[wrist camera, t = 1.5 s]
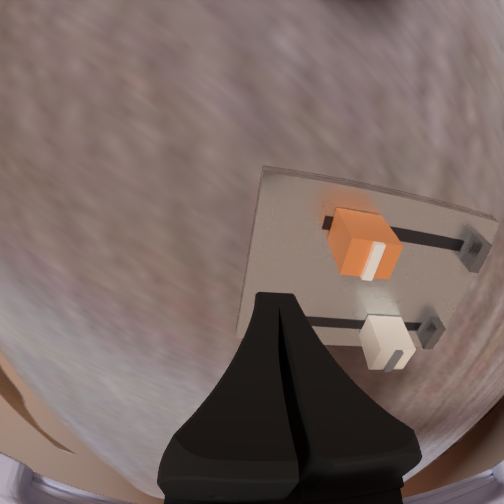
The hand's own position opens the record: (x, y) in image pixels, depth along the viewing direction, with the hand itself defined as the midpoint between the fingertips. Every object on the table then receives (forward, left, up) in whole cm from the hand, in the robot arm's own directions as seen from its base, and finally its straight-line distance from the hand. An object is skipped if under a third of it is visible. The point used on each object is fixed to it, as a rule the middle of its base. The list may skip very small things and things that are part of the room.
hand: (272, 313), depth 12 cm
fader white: (-11, +8, -8) cm, 16 cm away
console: (-9, +4, -9) cm, 13 cm away
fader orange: (-6, 0, -8) cm, 10 cm away
